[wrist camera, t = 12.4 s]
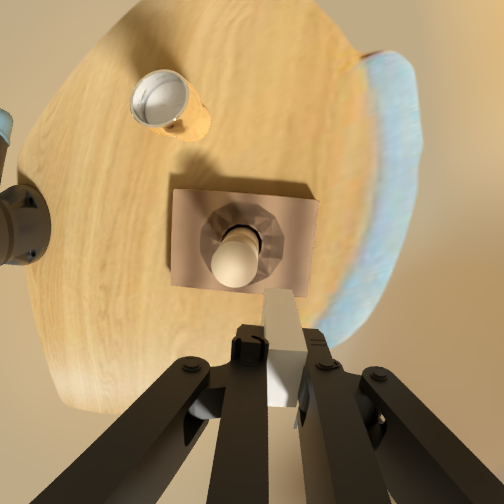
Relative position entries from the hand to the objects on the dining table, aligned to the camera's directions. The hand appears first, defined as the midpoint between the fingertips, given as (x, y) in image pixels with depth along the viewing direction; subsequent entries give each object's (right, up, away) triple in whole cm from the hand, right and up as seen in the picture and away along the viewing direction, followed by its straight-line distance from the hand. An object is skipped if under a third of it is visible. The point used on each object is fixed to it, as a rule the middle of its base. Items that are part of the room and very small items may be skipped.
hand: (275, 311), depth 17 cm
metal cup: (-10, +22, +25) cm, 35 cm away
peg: (-3, +5, +29) cm, 29 cm away
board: (-3, +5, +29) cm, 29 cm away
